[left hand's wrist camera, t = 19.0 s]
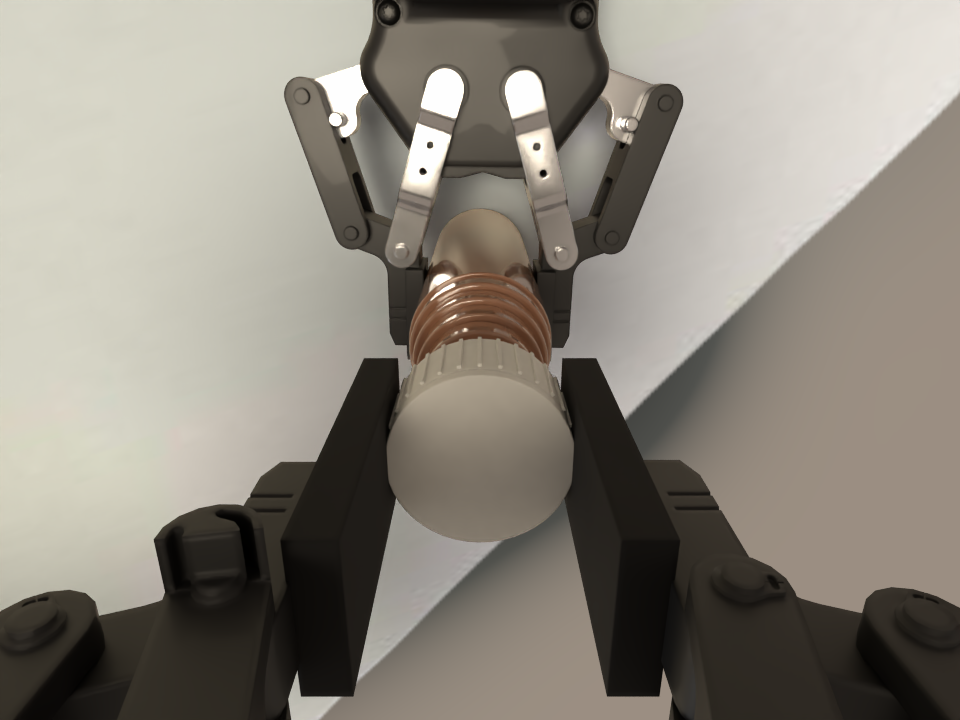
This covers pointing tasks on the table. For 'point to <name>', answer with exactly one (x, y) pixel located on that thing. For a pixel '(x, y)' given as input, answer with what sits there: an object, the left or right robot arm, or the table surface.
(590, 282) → the table surface
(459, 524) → the cap
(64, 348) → the table surface
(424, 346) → the bottle
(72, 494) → the table surface
